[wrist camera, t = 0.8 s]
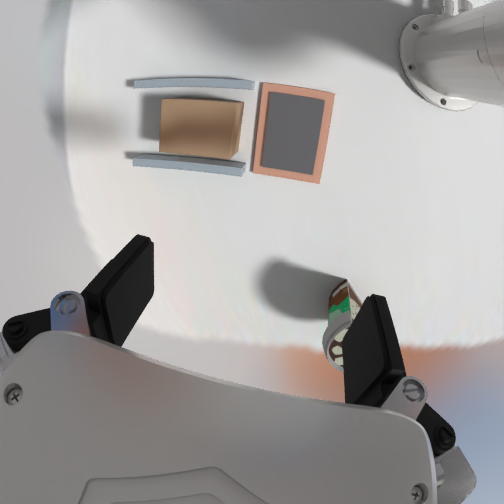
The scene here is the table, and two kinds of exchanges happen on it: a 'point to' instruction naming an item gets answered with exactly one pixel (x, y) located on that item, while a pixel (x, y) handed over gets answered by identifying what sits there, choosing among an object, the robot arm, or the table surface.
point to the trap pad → (292, 132)
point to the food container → (339, 321)
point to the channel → (191, 162)
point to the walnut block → (200, 127)
